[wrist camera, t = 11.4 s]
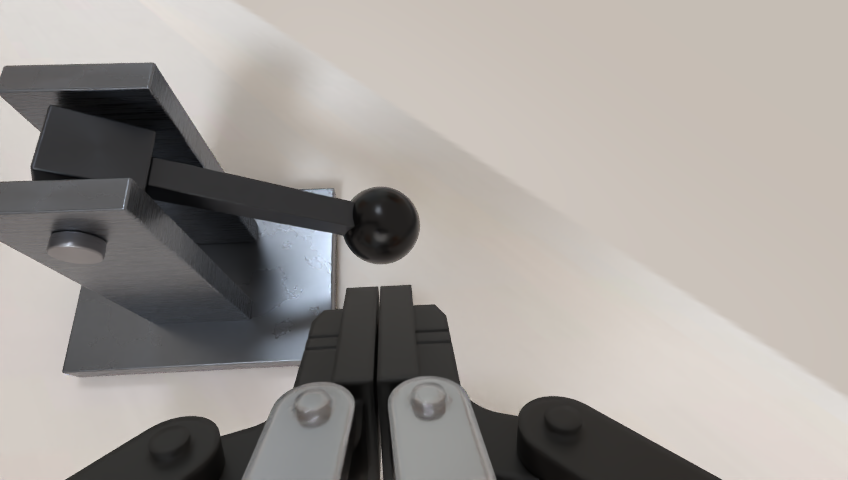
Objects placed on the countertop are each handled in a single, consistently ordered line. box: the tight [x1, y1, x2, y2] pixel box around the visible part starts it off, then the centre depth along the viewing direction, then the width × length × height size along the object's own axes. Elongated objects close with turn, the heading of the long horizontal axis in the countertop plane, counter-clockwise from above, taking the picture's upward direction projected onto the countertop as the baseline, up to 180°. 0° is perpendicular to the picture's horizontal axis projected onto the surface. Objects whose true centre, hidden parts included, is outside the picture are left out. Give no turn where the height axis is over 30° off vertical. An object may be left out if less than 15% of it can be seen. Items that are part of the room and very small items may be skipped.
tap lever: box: [31, 105, 420, 264], centre depth 18 cm, size 13×3×3 cm
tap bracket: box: [0, 63, 337, 377], centre depth 20 cm, size 12×9×13 cm
